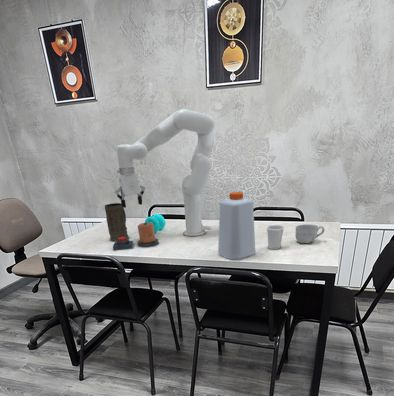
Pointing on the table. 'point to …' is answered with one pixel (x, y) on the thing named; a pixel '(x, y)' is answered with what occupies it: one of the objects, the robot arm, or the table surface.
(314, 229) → the teacup
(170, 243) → the table surface
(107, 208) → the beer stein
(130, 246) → the switch box
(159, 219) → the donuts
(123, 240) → the button
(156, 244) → the base
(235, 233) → the plastic bottle
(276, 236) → the dixie cup
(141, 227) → the kettle
